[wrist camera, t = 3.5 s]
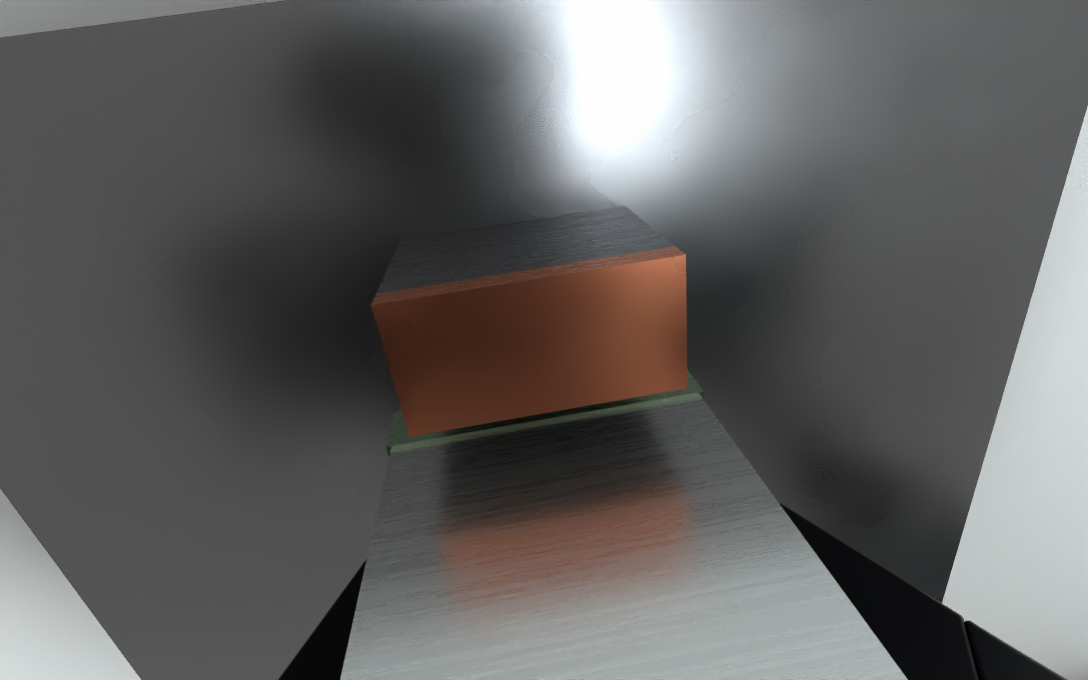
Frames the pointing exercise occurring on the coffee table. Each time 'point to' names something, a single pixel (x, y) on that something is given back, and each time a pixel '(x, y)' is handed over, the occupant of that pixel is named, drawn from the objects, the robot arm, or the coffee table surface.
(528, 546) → the grey metal cube
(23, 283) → the stand
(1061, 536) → the coffee table surface
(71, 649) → the coffee table surface
